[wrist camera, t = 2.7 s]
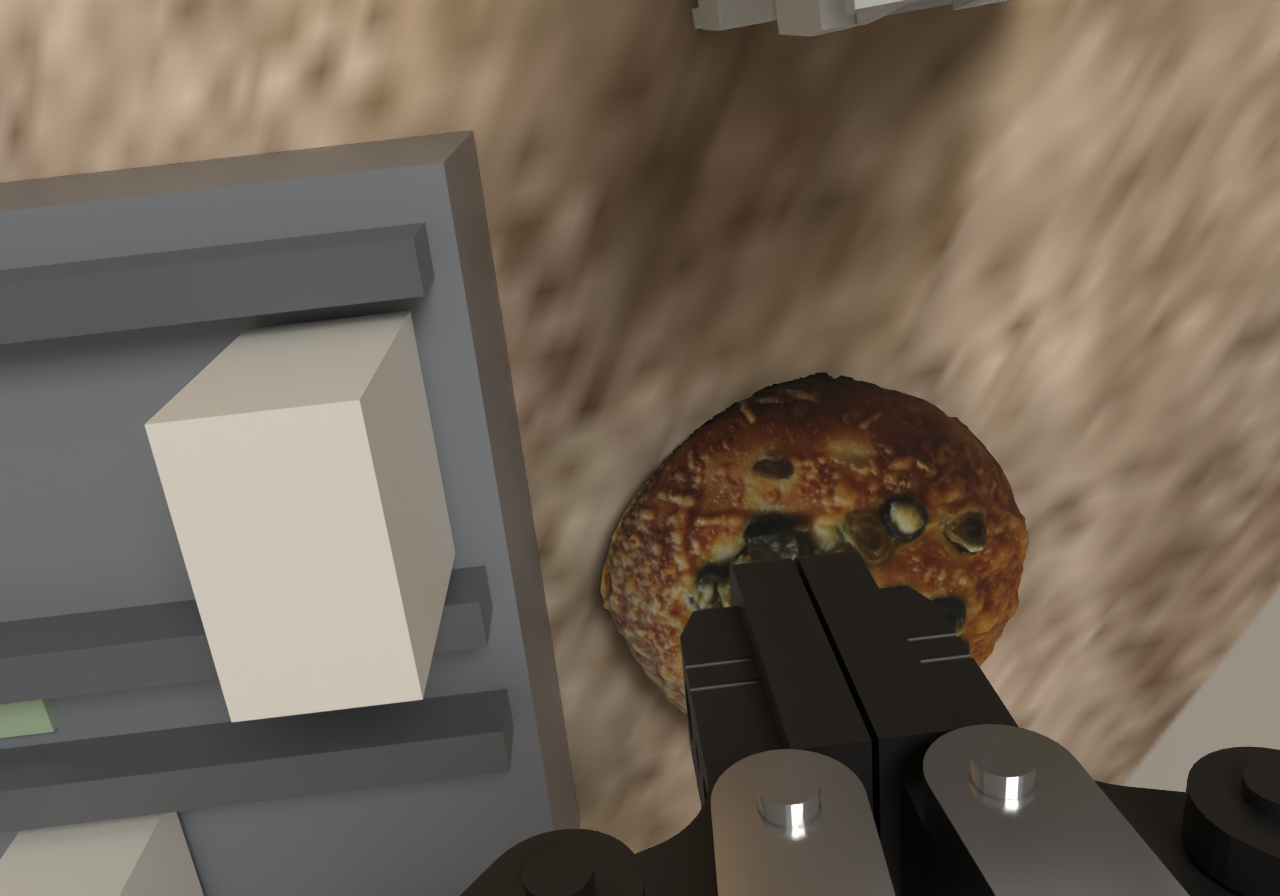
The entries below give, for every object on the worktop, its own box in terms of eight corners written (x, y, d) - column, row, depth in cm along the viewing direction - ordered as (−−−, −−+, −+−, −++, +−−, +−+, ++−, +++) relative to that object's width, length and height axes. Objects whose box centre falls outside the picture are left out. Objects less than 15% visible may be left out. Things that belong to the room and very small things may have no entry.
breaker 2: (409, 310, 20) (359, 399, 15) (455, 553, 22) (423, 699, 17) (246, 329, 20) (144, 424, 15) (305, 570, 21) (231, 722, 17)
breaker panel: (473, 130, 25) (432, 173, 18) (579, 824, 32) (581, 1047, 25) (-99, 194, 24) (-368, 263, 17) (142, 877, 32) (22, 1117, 25)
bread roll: (976, 309, 27) (1054, 402, 23) (1020, 638, 32) (1090, 764, 28) (552, 427, 28) (548, 538, 24) (664, 726, 33) (677, 861, 29)
